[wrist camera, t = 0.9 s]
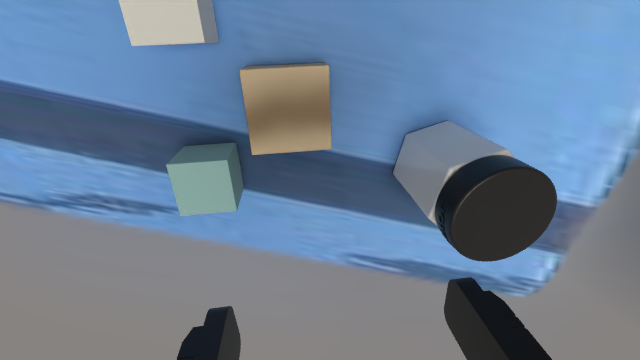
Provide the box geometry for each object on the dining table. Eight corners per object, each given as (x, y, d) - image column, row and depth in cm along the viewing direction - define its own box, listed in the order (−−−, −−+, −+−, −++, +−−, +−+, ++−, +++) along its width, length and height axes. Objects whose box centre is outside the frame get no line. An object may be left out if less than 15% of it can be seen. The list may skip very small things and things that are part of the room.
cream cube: (142, -25, 23) (106, -42, 19) (207, -27, 23) (188, -44, 19) (159, 45, 25) (131, 45, 21) (219, 42, 26) (204, 42, 21)
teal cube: (184, 145, 29) (166, 164, 24) (236, 142, 29) (227, 160, 25) (196, 190, 31) (180, 215, 27) (243, 187, 32) (236, 211, 27)
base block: (246, 66, 26) (239, 70, 23) (323, 62, 27) (329, 65, 23) (256, 141, 29) (252, 154, 26) (326, 136, 30) (331, 149, 26)
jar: (377, 161, 32) (423, 223, 21) (435, 104, 30) (520, 139, 19) (427, 207, 35) (490, 281, 24) (483, 158, 33) (579, 215, 22)
